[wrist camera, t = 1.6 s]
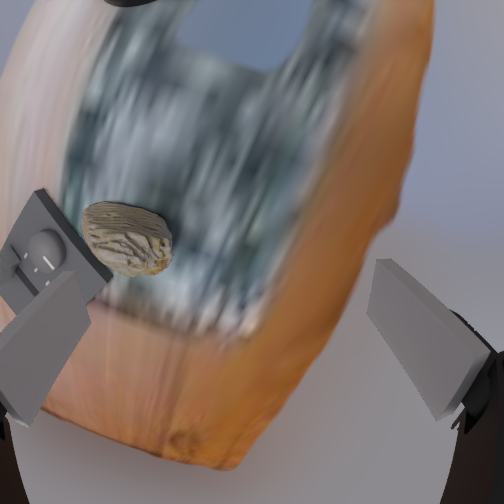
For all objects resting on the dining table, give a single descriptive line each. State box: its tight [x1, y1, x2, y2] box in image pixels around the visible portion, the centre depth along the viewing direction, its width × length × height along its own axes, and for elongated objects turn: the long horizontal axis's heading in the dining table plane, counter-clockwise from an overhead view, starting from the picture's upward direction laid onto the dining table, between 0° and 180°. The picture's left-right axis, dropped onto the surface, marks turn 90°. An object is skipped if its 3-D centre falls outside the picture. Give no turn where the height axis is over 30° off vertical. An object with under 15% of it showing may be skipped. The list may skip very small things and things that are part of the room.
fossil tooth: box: [81, 202, 174, 277], centre depth 30 cm, size 12×6×15 cm
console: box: [0, 189, 113, 315], centre depth 35 cm, size 18×24×5 cm
